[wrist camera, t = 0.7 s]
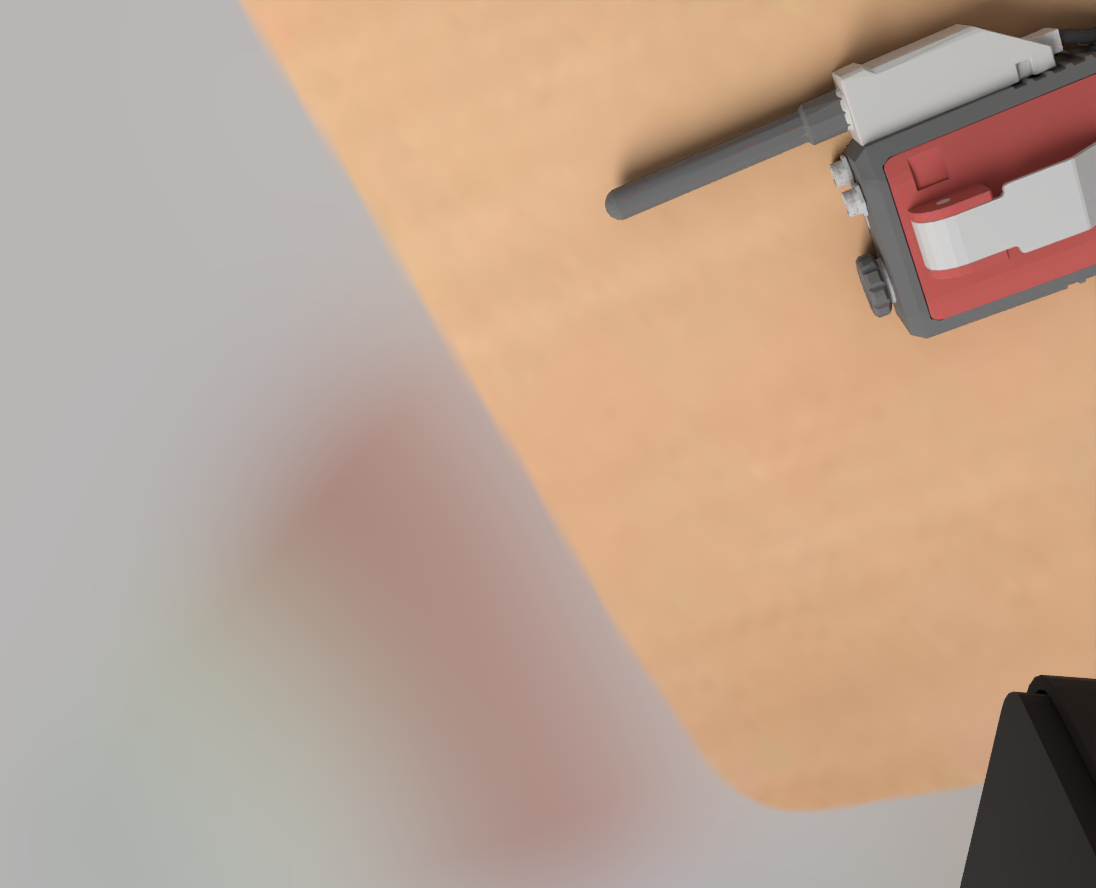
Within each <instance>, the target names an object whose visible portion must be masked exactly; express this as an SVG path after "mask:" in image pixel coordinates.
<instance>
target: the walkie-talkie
mask: <svg viewBox="0 0 1096 888" xmlns="http://www.w3.org/2000/svg"><path fill="white" fill-rule="evenodd" d="M1068 43H1080V44H1078V45H1077V48H1076V49H1074V50H1071V51H1065V50H1063V47H1062V46H1063V45H1065V44H1068ZM1056 53H1058V56H1057V57H1054V55H1053V54H1056ZM831 74H832V77H833V81H834V84H835V87H836V89H835V90H833V91H831V92H828V93H826V94H824V95H821V96H819V97H817V98H814V99H812V100H809V101H807V102H805V103H802V104H800V106H799V108H798V110H797V111H796V112H794V113H791V114H789V115H787V116H784V117H782V118H780V119H777V120H775V121H773V122H770V123H768V124H765V125H763V126H761V127H758V128H756V129H754V130H751V131H749V132H747V133H744V134H742V135H740V136H737V137H735V138H733V139H730V140H728V141H726V142H723V143H721V144H719V145H716V146H714V147H712V148H709V149H707V150H704V151H702V152H700V153H697V154H695V155H693V156H690V157H688V158H686V159H683V160H681V161H679V162H676V163H674V164H672V165H669V166H667V167H665V168H662V169H660V170H658V171H655V172H653V173H651V174H648V175H646V176H644V177H641V178H639V179H637V180H634V181H632V182H630V183H627V184H625V185H623V186H621V187H618V188H616V189H614V190H612V191H611V192H609V194H608V195H607V197H606V201H605V207H606V210H607V212H608V213H609V215H610V216H611V217H613V218H615V219H617V220H624V219H626V218H629V217H631V216H634V215H636V214H638V213H641V212H643V211H645V210H648V209H650V208H653V207H655V206H657V205H660V204H662V203H664V202H667V201H669V200H672V199H674V198H676V197H679V196H681V195H683V194H686V193H688V192H690V191H693V190H695V189H698V188H700V187H702V186H705V185H707V184H709V183H712V182H714V181H717V180H719V179H721V178H724V177H726V176H728V175H731V174H733V173H736V172H738V171H740V170H743V169H745V168H747V167H750V166H752V165H755V164H757V163H759V162H762V161H764V160H766V159H769V158H771V157H773V156H776V155H778V154H781V153H783V152H785V151H788V150H790V149H792V148H795V147H797V146H800V145H802V144H804V143H807V142H810V143H812V144H813V145H816V144H818V143H820V142H823V141H825V140H828V139H830V138H833V137H835V136H837V135H840V134H842V133H845V132H847V131H850V134H851V137H852V138H853V139H852V140H851V142H850V143H849V145H848V146H847V147H846V149H845V150H844V155H841V156H840V159H841V160H839V161H837V162H834V163H832V164H830V165H829V168H830V171H831V175H832V178H833V180H834V182H835V185H836V187H837V188H838V189H839V188H841V187H844V186H847V185H850V186H851V187H852V189H849V190H847V191H845V192H842V193H841V194H842V198H843V201H844V204H845V207H846V209H847V212H848V214H849V216H850V217H853V216H855V215H859V214H863V215H864V218H865V220H866V222H867V225H868V228H869V231H870V234H871V237H872V240H873V244H874V247H875V250H876V253H877V256H878V259H876V260H875V258H874V257H873V256H872V255H870V254H869V253H867V254H864V255H862V256H859V257H858V258H857V260H856V266H857V271H858V274H859V277H860V280H861V283H862V286H863V289H864V291H865V294H866V296H867V299H868V301H869V304H870V307H871V309H872V311H873V313H874V314H875V315H876V316H878V317H883V316H885V315H888V314H890V312H891V309H892V304H894V307H895V310H896V313H897V315H898V317H899V318H900V319H901V321H902V322H903V324H904V325H905V327H906V328H907V330H908V331H909V333H910V334H911V335H914V336H919V337H923V338H929V337H932V336H935V335H938V334H941V333H943V332H946V331H949V330H952V329H955V328H957V327H960V326H963V325H966V324H969V323H971V322H974V321H977V320H980V319H983V318H985V317H988V316H991V315H994V314H997V313H999V312H1002V311H1005V310H1008V309H1010V308H1013V307H1016V306H1019V305H1022V304H1024V303H1027V302H1030V301H1033V300H1036V299H1038V298H1041V297H1044V296H1047V295H1050V294H1052V293H1055V292H1058V291H1061V290H1064V289H1066V288H1067V287H1068V285H1070V284H1073V283H1076V282H1079V283H1083V282H1085V281H1086V279H1087V278H1090V277H1092V276H1095V275H1096V28H1093V29H1086V30H1078V29H1066V30H1061V31H1058V29H1055V28H1043V29H1041V30H1038V31H1036V32H1034V33H1031V34H1029V35H1026V36H1024V37H1022V38H1018V37H1014V36H1010V35H1006V34H1002V33H998V32H994V31H990V30H986V29H982V28H978V27H974V26H969V25H961V24H955V25H953V26H950V27H948V28H946V29H943V30H941V31H939V32H936V33H934V34H932V35H929V36H927V37H924V38H922V39H920V40H917V41H915V42H913V43H910V44H908V45H906V46H903V47H901V48H899V49H896V50H894V51H892V52H889V53H887V54H885V55H882V56H880V57H878V58H875V59H873V60H871V61H868V62H866V63H863V64H856V63H851V64H849V65H847V66H845V67H843V68H840V69H838V70H836V71H834V72H832V73H831Z"/></svg>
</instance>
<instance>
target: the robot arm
mask: <svg viewBox="0 0 1096 888" xmlns="http://www.w3.org/2000/svg"><path fill="white" fill-rule="evenodd" d="M960 888H1096V679H1089V678H1076V677H1063V676H1049V675H1040V676H1037V677H1035V678H1034V679H1033V681H1032V682H1031V684H1030V685H1029V688H1028V691H1027V693H1023V692H1011V693H1009V694H1008V695H1007V697H1006V698H1005V700H1004V703H1003V706H1002V710H1001V714H1000V718H999V723H998V727H997V731H996V736H995V740H994V744H993V748H992V753H991V757H990V761H989V766H988V770H987V774H986V778H985V783H984V787H983V792H982V796H981V800H980V804H979V809H978V813H977V817H976V821H975V826H974V830H973V834H972V838H971V843H970V847H969V852H968V856H967V860H966V864H965V869H964V873H963V877H962V881H961V886H960Z"/></svg>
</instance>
